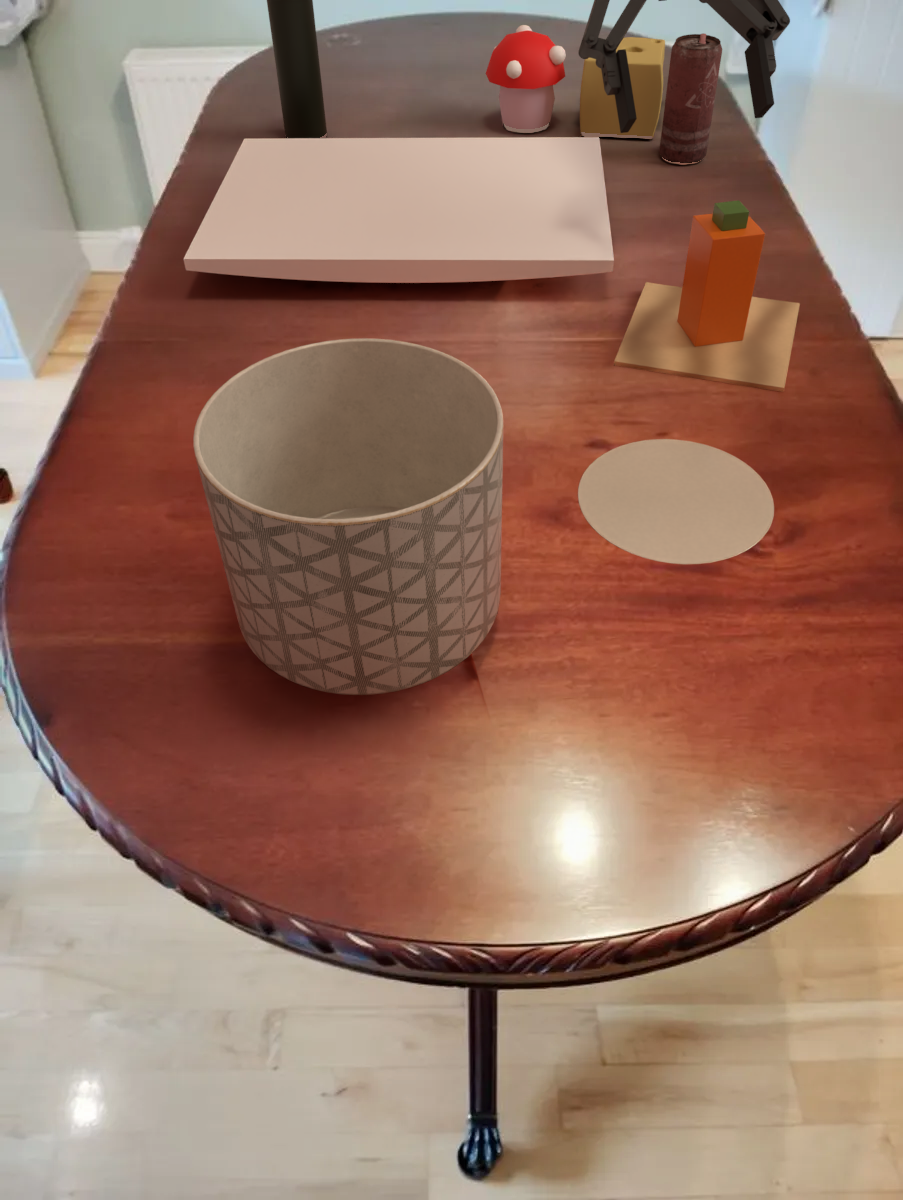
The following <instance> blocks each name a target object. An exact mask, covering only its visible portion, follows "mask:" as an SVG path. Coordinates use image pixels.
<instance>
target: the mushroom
mask: <svg viewBox="0 0 903 1200" xmlns="http://www.w3.org/2000/svg"><path fill="white" fill-rule="evenodd" d="M566 57H567V55H566V50H565V49H564V47H563V46H561V45H556V44H555V43H554V42H553V40H552V39H551V37H549V36H548V35H546V34H543V33H539V32H536V31H533V30H532V28H531V27H530V26H529V25H527V24H522V25H519V26H518V27H517V28H516V30H515V32H512V33H508V34H506V35H505V36H504V37H503V39H501V41H500V42H499V43H498V44H497V45H496V46H494V48H493V50H492V52H491V56H490V58H489V62H488V65H487V68H486V71H485V76H486V78H487V80H488V82H489V83H490V84H493V85H494V84H495V85H498V86H500V88H499V93H498V102H499V109H500V115H501V123H502V124H503V123H504V124H505V125H506V126H509V127H512V128H516V129H535V128H540V127H543V126H545V125H547V124H548V123H549V122H550V123H551V121H552V116H553V110H554V105H555V101H556V96H555V89H554V86H555V85H558V83H560V82H561V81H562V80H563V79H565V77H566V71H565V66H564V61H565V60H566Z"/></svg>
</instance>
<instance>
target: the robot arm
mask: <svg viewBox="0 0 903 1200" xmlns="http://www.w3.org/2000/svg"><path fill="white" fill-rule="evenodd" d="M647 1H648V0H629V1H628V3H627V4H626V6H625V7H624V9H623V10H622V12H621V14H620V15H619V17H618V18H617V21H616V22H615V24H614V26H613V27H612V28H611V29H610V32H609V33H608V35H607V37H606V38H602V37H599V36H600V34H601V30H602V27H603V24H604V20H605V18H606V14H607V10H608V7H609V4H610V0H593V2H592V7H591V10H590V13H589V16H588V20H587V22H586V25H585V29H584V32H583V35H582V38H581V43H580V45H579V48H578V56H579V57H580V59H582V60H585V59H588V58H593V59H596V65H597V67H599V68H601V71H602V77H603V84H604V90H605V92H606V94H607V95H615V100H616V107H617V113H618V119H619V126H620V132H621V133H626V132H629V130H630V129H631V127H632V125H633V124H634V122H635V121H636V119H637V117H636V111H635V104H634V98H633V92H632V85H631V79H630V73H629V66H628V60H627V54H626V49H622V50H618V51H617V53H616V49H617V48H618V46H619V44H620V43H621V41H622V39H623V38H625V36H626V34H627V33H628V31H629V29H630V28H631V26H632V25H633V23H634V22H635V20H636V18H637V17H638V15H639V14H640V11H641V10H642V9H643V7H644V5H645V4H646V2H647ZM664 1H666V0H658V2H664ZM698 1H699V2H700V3H702V4H707V6H709V7H710V8H711V9H712V10H713V11H714V12H715V13H717V14H718V15H719V16H720V17H721V18H722V19H723V20H724V21H725V22H726V23H727V24H728V25H729V26H730V27H731V28H732V29H733V30H734V31H735V32H737V34H738V35H739V36H740V37H742V38H743V39H744V40H745V42H747V43H748V44H749V45H748V46H747V48H746V49H745V51H744V57H745V63H746V70H747V77H748V84H749V90H750V97H751V102H752V109H753V116H754V119H762V118H763V117H764V116H765V115H766V114H767V113H768V112H769V111H770V109H771V108H773V106H774V105H775V98H774V92H773V85H772V80H771V79H772V78H771V77H772V76H773V75H774V74H775V72H776V70H777V60H776V54H775V47H774V42H775V41H776V40H778V39H779V37H781V36H782V34H783V33H784V32H785V30H786V29H787V27H788V26H789V25H790V24H791V18H790V16H789V14H788V13H787V11H786V10H785V8H784V7H783V5H782V4H781V2H780V1H779V0H698Z"/></svg>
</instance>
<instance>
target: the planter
mask: <svg viewBox="0 0 903 1200" xmlns="http://www.w3.org/2000/svg"><path fill="white" fill-rule="evenodd" d="M192 441H193V452H194V457H195V461H196V464H197V469H198V472H199V477H200V480H201V484H202V487H203V492H204V496H205V500H206V503H207V506H208V510H209V515H210V518H211V522H212V527H213V531H214V535H215V538H216V542H217V545H218V549H219V550H218V551H219V553H220V557H221V561H222V566H223V569H224V572H225V576H226V580H227V584H228V589H229V592H230V595H231V600H232V603H233V607H234V610H235V615H236V619H237V621H238V622H237V623H238V626H239V629H240V632H241V635H242V637H243V639H244V640H245V642H246V644H247V645H248V647H249V649H250V650H251V652H252V653H253V654H254V655H255V656H256V657H257V658H258V660H260V662H262V664H264V665H265V666H266V667H267V668H269V669H270V670H272V671H273V672H275V674H277V675H278V676H281V677H282V678H284V679H286V680H288V681H290V682H292V683H295V684H298V685H300V686H303V687H306V688H307V689H311V690H315V691H319V692H324V693H330V694H336V695H347V696H370V695H380V694H381V695H382V694H388V693H394V692H398V691H402V690H407V689H411V688H413V687H416V686H420V685H423V684H426V683H427V682H430V681H432V680H434V679H437V678H439V677H440V676H442V675H444V674H446V673H447V672H449V671H451V670H452V669H454V668H455V667H457V666H458V665H460V664H461V663H462V662H464V661H465V660H466V659H467V658H468V657H469V656H470V655H472V654H473V653H474V652H475V651H476V650H477V649H478V648H479V646H480V645H482V643H483V642H484V640H485V639H486V637H488V634H489V633H490V631H491V629H492V627H493V625H494V623H495V621H496V618H497V615H498V613H499V608H500V604H501V594H502V593H501V591H502V589H501V588H502V587H501V586H502V541H503V539H502V536H503V535H502V533H503V532H502V531H503V523H502V522H503V480H504V477H503V474H504V414H503V409H502V405H501V402H500V400H499V397H498V396H497V394H496V392H495V390H494V389H493V387H492V386H491V384H489V382H488V381H487V380H486V379H485V378H484V377H483V376H482V375H481V374H480V373H479V372H478V371H477V370H475V369H474V368H473V367H471V366H470V365H468V364H467V363H465V362H464V361H462V360H460V359H458V358H456V357H454V356H452V355H451V354H448V353H446V352H443V351H440V350H438V349H436V348H432V347H429V346H425V345H422V344H417V343H412V342H409V341H402V340H397V339H396V340H395V339H387V338H367V337H363V338H362V337H361V338H343V339H342V338H341V339H332V340H325V341H320V342H314V343H308V344H305V345H301V346H300V345H299V346H296V347H292V348H290V349H286V350H283V351H281V352H278V353H275V354H272V355H270V356H268V357H265V358H263V359H260V360H259V361H257V362H255V363H252V364H251V365H249V366H247V367H246V368H244V369H242V370H240V371H239V372H238V373H236V374H235V375H233V376H231V378H229V379H228V380H227V381H226V382H225V383H224V384H222V385H221V386H220V387H219V388H217V390H216V391H215V392H214V393H213V394H212V395H211V396H210V398H209V399H208V400H207V402H206V403H205V405H204V406H203V408H202V409H201V411H200V412H199V414H198V417H197V419H196V423H195V426H194V431H193V440H192Z"/></svg>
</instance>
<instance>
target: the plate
mask: <svg viewBox="0 0 903 1200" xmlns="http://www.w3.org/2000/svg"><path fill="white" fill-rule="evenodd" d="M577 500H578V506H579V508H580V511H581V513H582V516H583V517H584V519H585V520H586V522H587V523H588V525H589V526H590V527H591V528H592V529H593V530H594V531H595V532H596V533H597V534H598V535H599V536H601V537H602V538H603V539H604V540H606V541H607V542H608V543H610V544H612V545H613V546H614V547H617V548H618V549H621V550H623V551H625V552H627V553H629V554H630V555H631V554H632V555H634V556H637V557H640V558H643V559H646V560H651V561H655V562H658V563H659V562H660V563H666V564H672V565H673V564H674V565H701V564H711V563H716V562H720V561H724V560H728V559H731V558H734V557H737V556H738V555H741V554H743V553H745V552H746V551H749V550H750V549H751V548H753V547H754V546H756V545H757V544H758V543H759V542H760V541H761V540H763V538H764V537H765V535H767V534H768V532H769V530H770V528H771V526H772V523H773V520H774V516H775V504H774V498H773V495H772V493H771V490H770V488H769V487H768V485H767V483H766V481H764V479H763V478H762V476H761V475H760V474H759V473H758V472H756V470H754V468H753V467H751V466H750V465H748V464H747V463H746V462H745V461H743V460H741V459H740V458H738V457H737V456H735V455H733V454H731V453H729V452H727V451H724V450H722V449H719V448H717V447H714V446H712V445H708V444H704V443H701V442H697V441H692V440H684V439H675V438H674V439H673V438H653V439H643V440H637V441H633V442H629V443H625V444H622V445H620V446H617V447H614V448H612V449H610V450H608V451H606V452H604V453H602V454H601V455H600V456H598V457H597V458H595V459H594V460H593V461H592V462H591V463H590V464H589V465H588V466H587V468H586V469H585V470H584V472H583V473H582V476H581V477H580V480H579V483H578V487H577Z"/></svg>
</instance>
